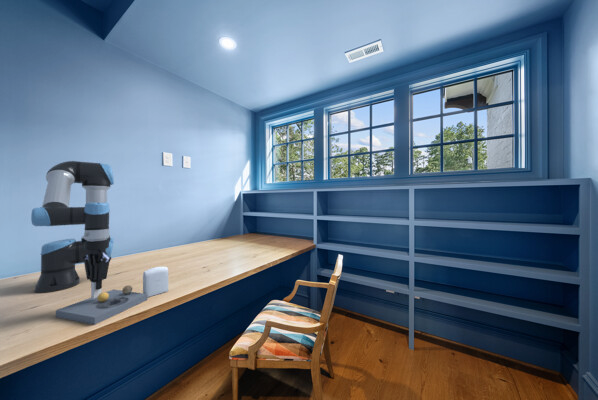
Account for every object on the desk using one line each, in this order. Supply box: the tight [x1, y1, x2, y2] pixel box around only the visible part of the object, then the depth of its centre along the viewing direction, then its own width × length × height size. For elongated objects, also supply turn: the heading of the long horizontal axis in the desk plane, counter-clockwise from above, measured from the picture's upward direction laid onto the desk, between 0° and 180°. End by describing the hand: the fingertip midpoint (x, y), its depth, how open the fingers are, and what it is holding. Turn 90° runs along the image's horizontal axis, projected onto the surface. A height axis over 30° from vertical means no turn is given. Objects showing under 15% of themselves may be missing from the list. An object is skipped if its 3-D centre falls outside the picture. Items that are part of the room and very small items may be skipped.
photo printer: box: [142, 266, 169, 298], centre depth 102 cm, size 10×4×12 cm, turn 140°
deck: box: [55, 289, 149, 326], centre depth 88 cm, size 20×20×2 cm
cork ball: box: [122, 285, 133, 294], centre depth 96 cm, size 4×4×4 cm
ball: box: [97, 291, 109, 302], centre depth 89 cm, size 4×4×4 cm
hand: (96, 296), depth 89 cm, fingers closed
